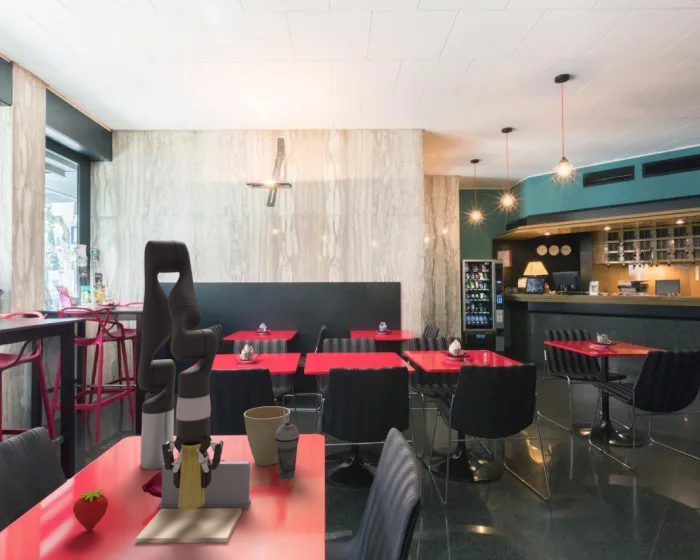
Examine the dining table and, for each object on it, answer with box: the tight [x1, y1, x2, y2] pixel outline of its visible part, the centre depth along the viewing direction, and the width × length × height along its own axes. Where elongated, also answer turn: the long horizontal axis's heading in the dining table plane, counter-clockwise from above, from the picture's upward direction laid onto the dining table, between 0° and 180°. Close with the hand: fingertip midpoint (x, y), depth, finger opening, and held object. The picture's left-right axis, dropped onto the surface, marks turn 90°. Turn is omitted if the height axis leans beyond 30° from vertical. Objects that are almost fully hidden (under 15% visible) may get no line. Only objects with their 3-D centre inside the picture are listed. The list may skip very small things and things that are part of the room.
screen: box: [158, 461, 252, 512], centre depth 102 cm, size 22×4×11 cm, turn 91°
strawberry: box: [72, 484, 109, 531], centre depth 92 cm, size 6×8×10 cm
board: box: [135, 508, 242, 544], centre depth 93 cm, size 20×12×1 cm, turn 91°
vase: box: [178, 443, 206, 510], centre depth 93 cm, size 6×6×14 cm
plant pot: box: [243, 405, 291, 467], centre depth 130 cm, size 15×15×16 cm
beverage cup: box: [275, 409, 300, 480], centre depth 119 cm, size 7×7×20 cm
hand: (192, 486), depth 93 cm, fingers closed on vase, 5 cm apart
